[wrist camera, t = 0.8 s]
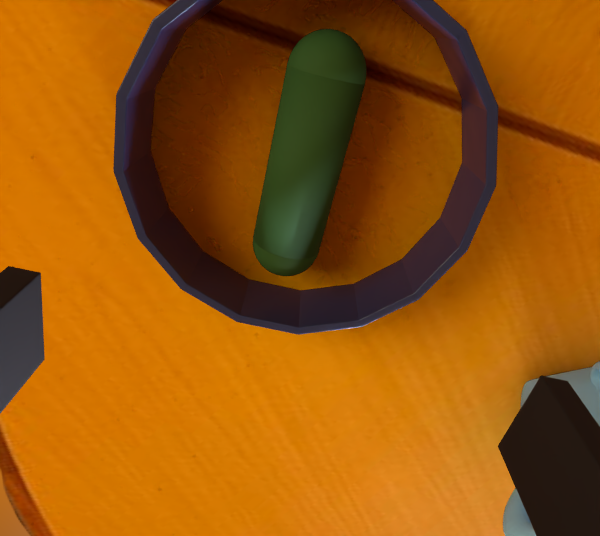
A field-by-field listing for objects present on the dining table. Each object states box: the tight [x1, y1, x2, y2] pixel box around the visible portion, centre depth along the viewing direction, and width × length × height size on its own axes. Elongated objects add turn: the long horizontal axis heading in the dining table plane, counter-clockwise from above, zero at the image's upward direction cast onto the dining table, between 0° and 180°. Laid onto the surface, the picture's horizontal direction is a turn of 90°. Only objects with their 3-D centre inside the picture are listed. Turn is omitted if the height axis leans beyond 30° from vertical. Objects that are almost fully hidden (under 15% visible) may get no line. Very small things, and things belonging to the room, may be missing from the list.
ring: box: [114, 0, 498, 334], centre depth 29 cm, size 22×22×5 cm
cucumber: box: [253, 29, 366, 276], centre depth 29 cm, size 16×5×5 cm, turn 167°
